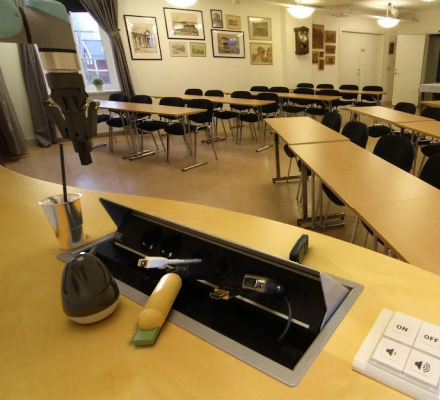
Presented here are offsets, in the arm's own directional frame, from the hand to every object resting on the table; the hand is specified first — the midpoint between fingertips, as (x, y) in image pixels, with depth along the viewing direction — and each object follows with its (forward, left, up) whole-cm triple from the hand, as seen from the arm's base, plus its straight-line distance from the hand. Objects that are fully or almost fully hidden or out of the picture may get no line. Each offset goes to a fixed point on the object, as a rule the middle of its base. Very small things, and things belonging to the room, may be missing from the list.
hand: (87, 164), depth 88 cm
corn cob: (+26, -31, -26) cm, 48 cm away
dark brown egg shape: (+12, -30, -27) cm, 42 cm away
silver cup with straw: (-12, +4, -27) cm, 29 cm away
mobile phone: (+58, -10, -27) cm, 65 cm away
